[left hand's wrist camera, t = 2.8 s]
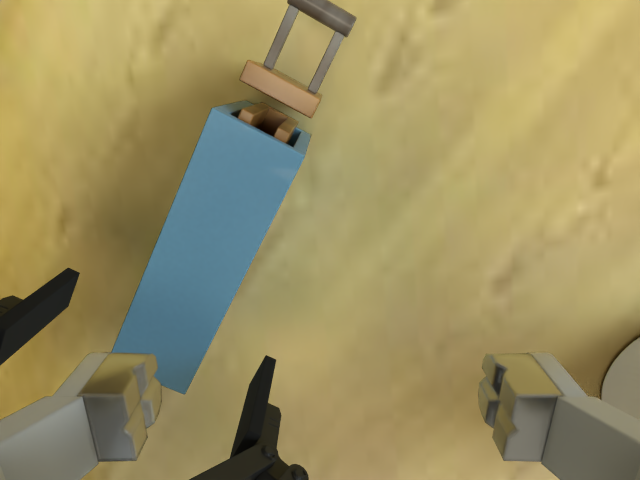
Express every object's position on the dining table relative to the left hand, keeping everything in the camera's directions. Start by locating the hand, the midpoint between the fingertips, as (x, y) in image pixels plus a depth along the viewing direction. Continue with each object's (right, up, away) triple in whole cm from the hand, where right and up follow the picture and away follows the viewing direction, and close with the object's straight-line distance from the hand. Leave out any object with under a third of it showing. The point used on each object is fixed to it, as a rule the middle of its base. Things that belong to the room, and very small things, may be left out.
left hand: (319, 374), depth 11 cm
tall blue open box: (-8, +5, +26) cm, 27 cm away
